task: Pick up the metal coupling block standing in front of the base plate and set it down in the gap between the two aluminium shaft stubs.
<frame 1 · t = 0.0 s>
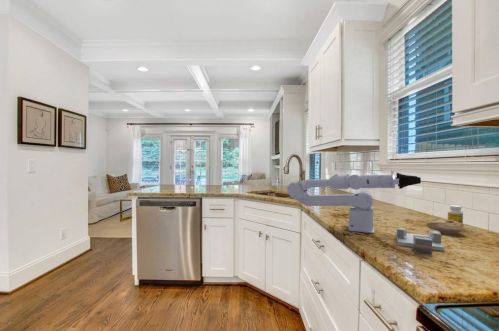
hand: (419, 179, 105), 22 cm above the countertop, tool horizontal, fingers open, 7 cm apart
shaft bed: (417, 242, 97), on the countertop
pottery oil lamp: (444, 233, 112), on the countertop
supplement bottle: (454, 228, 120), on the countertop
coupling: (422, 251, 88), on the countertop
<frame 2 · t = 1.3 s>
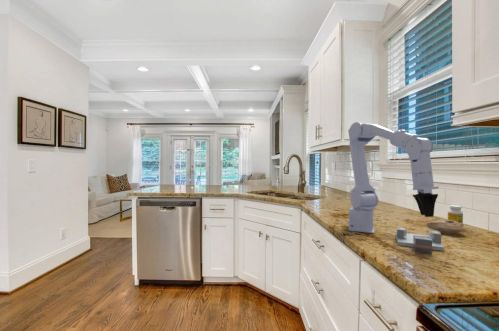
hand: (427, 215, 89), 11 cm above the countertop, tool pointing down, fingers open, 7 cm apart
nothing on the countertop moved.
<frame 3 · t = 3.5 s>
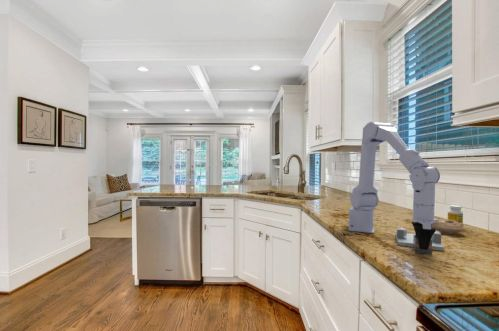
hand: (422, 246, 88), 1 cm above the countertop, tool pointing down, fingers closed on coupling, 5 cm apart
coupling: (422, 251, 88), on the countertop, touching gripper
everything else where it was.
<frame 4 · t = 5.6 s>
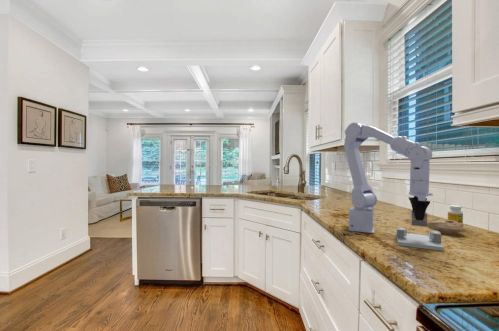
hand: (418, 218, 97), 8 cm above the countertop, tool pointing down, fingers closed on coupling, 5 cm apart
coupling: (418, 224, 97), point 6 cm above the countertop, touching gripper
everything else where it was.
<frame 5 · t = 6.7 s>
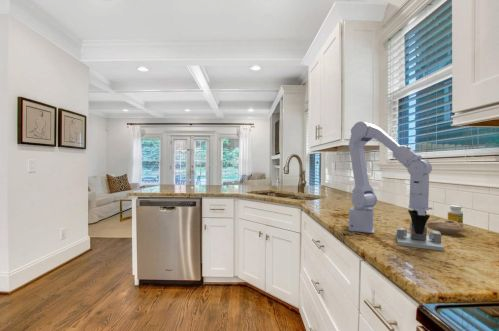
hand: (417, 232, 97), 4 cm above the countertop, tool pointing down, fingers closed on coupling, 5 cm apart
coupling: (417, 237, 97), point 2 cm above the countertop, touching gripper
everything else where it was.
when the fingers open (4 cm above the countertop, at t = 7.3 s): coupling stays where it is, resting on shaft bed.
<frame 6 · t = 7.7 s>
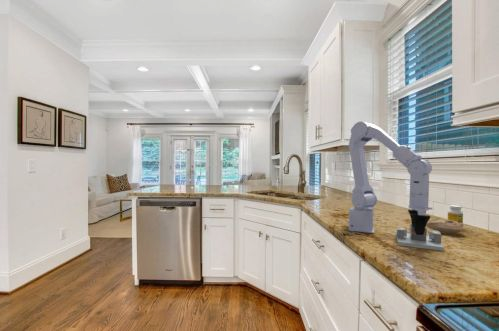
hand: (417, 232, 97), 4 cm above the countertop, tool pointing down, fingers open, 7 cm apart
coupling: (417, 238, 97), point 1 cm above the countertop, touching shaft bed
everything else where it was.
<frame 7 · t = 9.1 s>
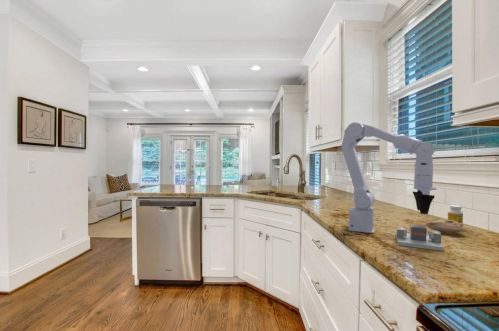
hand: (422, 212, 102), 10 cm above the countertop, tool pointing down, fingers open, 7 cm apart
nothing on the countertop moved.
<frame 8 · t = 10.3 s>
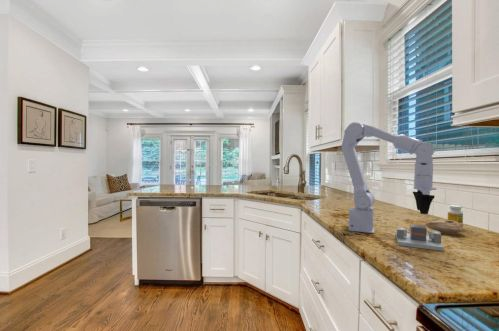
hand: (422, 212, 102), 10 cm above the countertop, tool pointing down, fingers open, 7 cm apart
nothing on the countertop moved.
at the end: coupling 0.0 cm off-centre on the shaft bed, point 1.2 cm above the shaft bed's base; coupling tilted 0°; the gripper is holding nothing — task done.
